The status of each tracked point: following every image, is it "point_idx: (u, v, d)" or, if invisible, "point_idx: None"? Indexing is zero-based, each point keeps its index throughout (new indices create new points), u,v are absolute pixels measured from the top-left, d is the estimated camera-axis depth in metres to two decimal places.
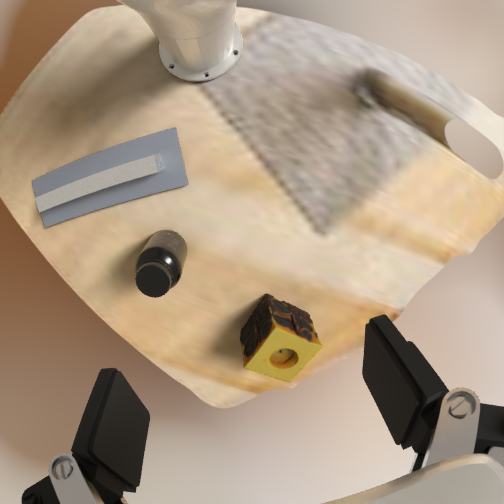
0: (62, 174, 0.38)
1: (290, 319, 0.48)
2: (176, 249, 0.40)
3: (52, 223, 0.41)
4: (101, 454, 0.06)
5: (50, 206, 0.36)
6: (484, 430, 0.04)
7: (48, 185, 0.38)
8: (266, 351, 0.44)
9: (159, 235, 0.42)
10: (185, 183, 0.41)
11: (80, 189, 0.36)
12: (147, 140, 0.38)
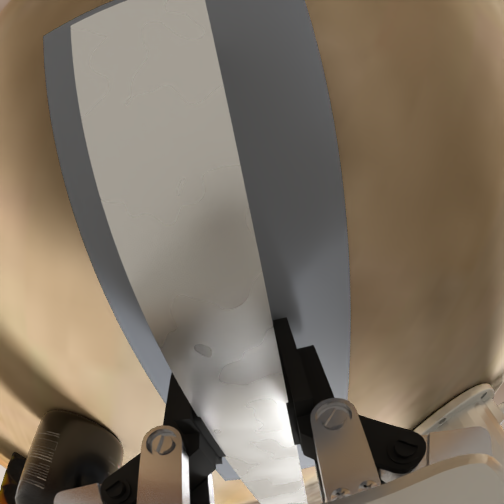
0: (302, 164, 0.08)
1: None
2: None
3: (51, 78, 0.06)
4: None
5: (100, 155, 0.04)
6: None
7: (250, 55, 0.07)
8: None
9: None
10: (228, 479, 0.16)
11: (233, 410, 0.07)
12: None
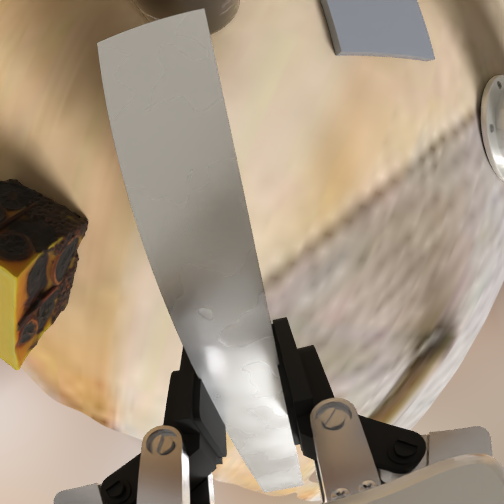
0: None
1: (46, 287, 0.17)
2: None
3: None
4: (203, 420, 0.07)
5: (126, 151, 0.05)
6: None
7: None
8: None
9: None
10: (344, 48, 0.16)
11: (231, 373, 0.08)
12: (415, 13, 0.14)
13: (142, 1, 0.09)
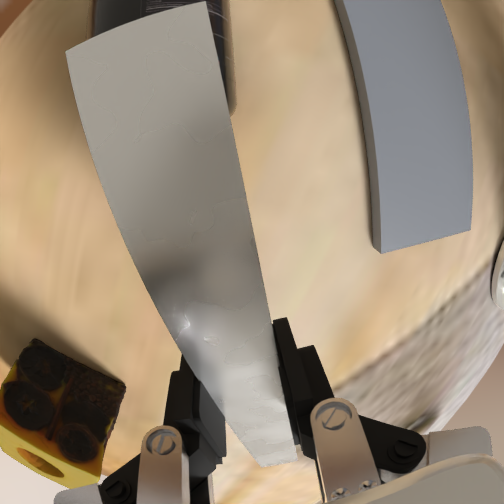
0: None
1: None
2: None
3: None
4: (203, 420, 0.07)
5: (114, 189, 0.05)
6: None
7: None
8: (39, 453, 0.12)
9: (223, 39, 0.09)
10: (385, 249, 0.17)
11: (235, 384, 0.08)
12: (466, 175, 0.16)
13: None
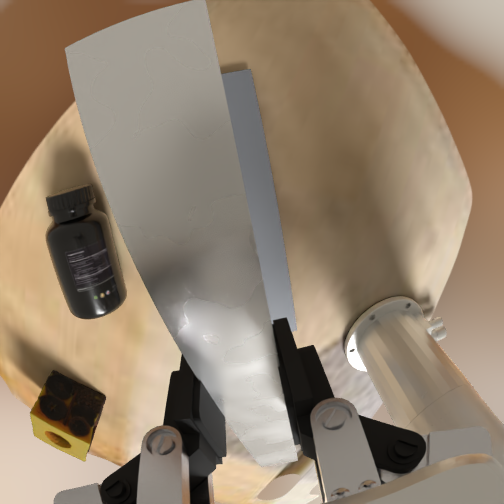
0: (252, 147, 0.24)
1: (92, 428, 0.33)
2: (69, 262, 0.21)
3: None
4: (203, 420, 0.07)
5: (113, 185, 0.05)
6: None
7: (234, 110, 0.23)
8: (59, 432, 0.27)
9: (109, 279, 0.24)
10: None
11: (235, 383, 0.08)
12: (285, 300, 0.31)
13: None
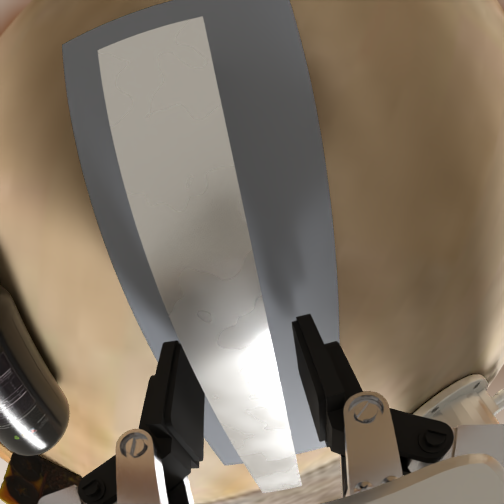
0: (291, 160, 0.10)
1: None
2: None
3: (71, 83, 0.08)
4: (176, 425, 0.07)
5: (126, 157, 0.06)
6: None
7: (247, 67, 0.08)
8: None
9: (30, 413, 0.09)
10: (227, 463, 0.18)
11: (229, 374, 0.08)
12: None
13: None
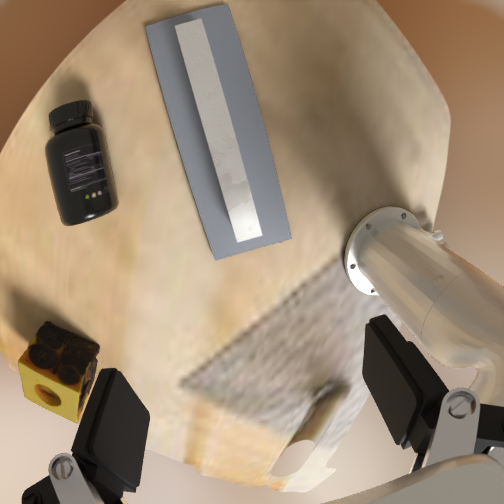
0: (232, 60, 0.24)
1: (85, 382, 0.34)
2: (65, 161, 0.21)
3: (151, 40, 0.22)
4: (101, 454, 0.06)
5: (183, 49, 0.20)
6: (484, 430, 0.04)
7: (215, 33, 0.23)
8: (47, 383, 0.27)
9: (102, 180, 0.24)
10: (217, 257, 0.32)
11: (210, 111, 0.23)
12: (276, 203, 0.31)
13: None
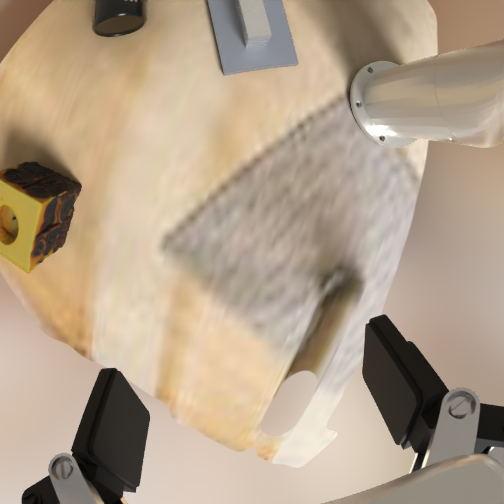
0: None
1: (53, 222, 0.29)
2: None
3: None
4: (101, 454, 0.06)
5: None
6: (484, 430, 0.04)
7: None
8: (11, 198, 0.23)
9: None
10: (226, 71, 0.28)
11: None
12: (284, 33, 0.27)
13: None
